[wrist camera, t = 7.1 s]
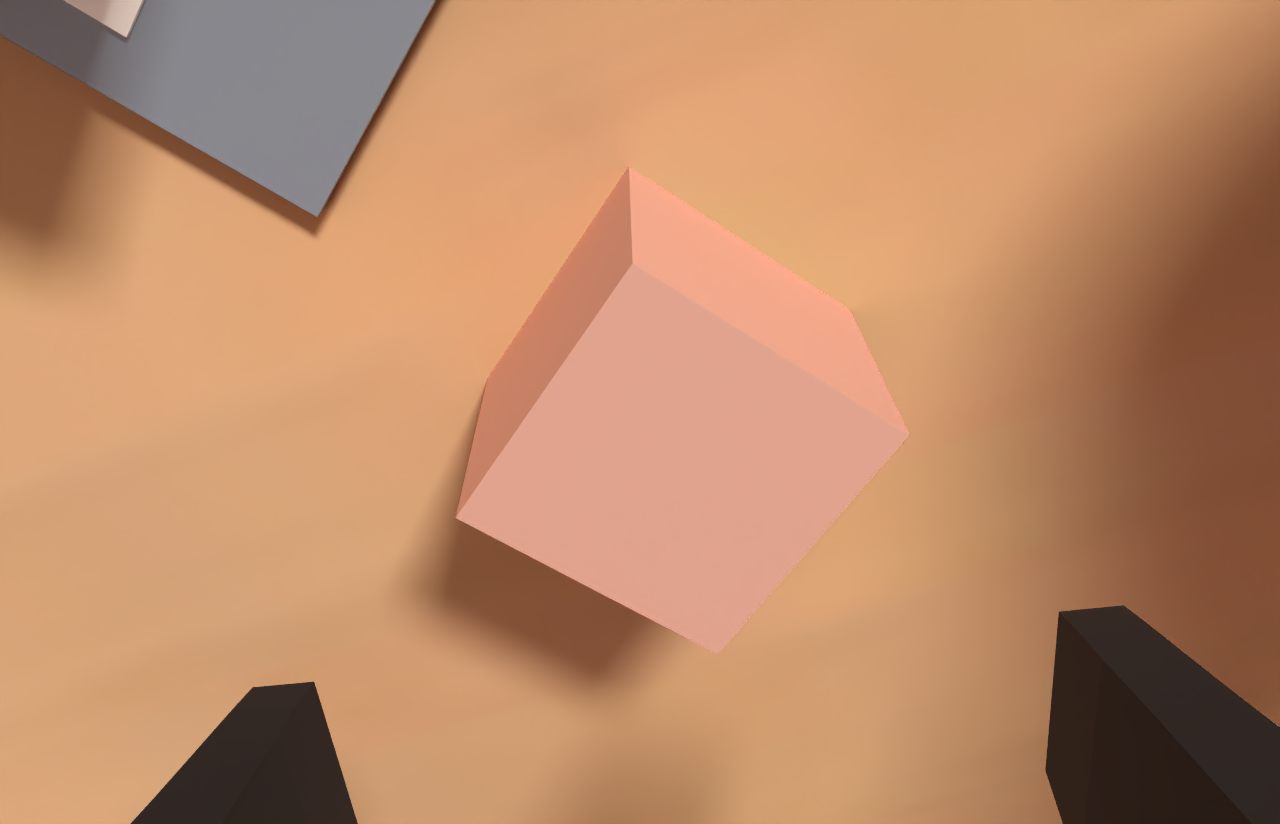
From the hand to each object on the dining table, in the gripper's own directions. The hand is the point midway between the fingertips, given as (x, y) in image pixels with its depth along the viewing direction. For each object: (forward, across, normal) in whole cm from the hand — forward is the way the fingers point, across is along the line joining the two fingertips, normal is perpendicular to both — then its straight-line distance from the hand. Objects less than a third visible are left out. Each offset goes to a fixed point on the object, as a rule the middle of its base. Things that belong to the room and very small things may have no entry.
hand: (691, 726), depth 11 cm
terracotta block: (+10, 0, 0) cm, 10 cm away
